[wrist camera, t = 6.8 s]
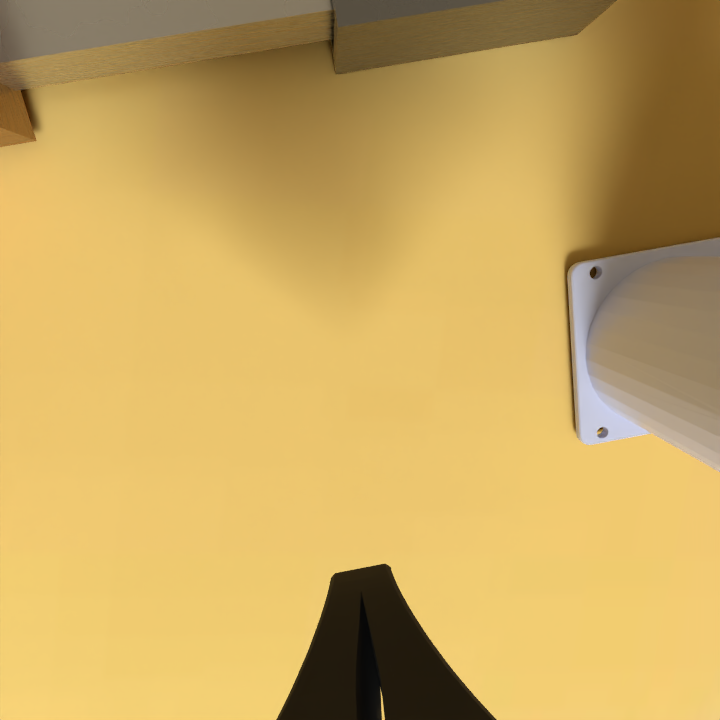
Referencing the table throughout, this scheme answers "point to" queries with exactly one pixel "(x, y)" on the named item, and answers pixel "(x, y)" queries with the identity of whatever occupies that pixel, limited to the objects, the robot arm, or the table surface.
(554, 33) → the sleeve
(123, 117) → the table surface
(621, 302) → the robot arm
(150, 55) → the tube
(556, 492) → the table surface
